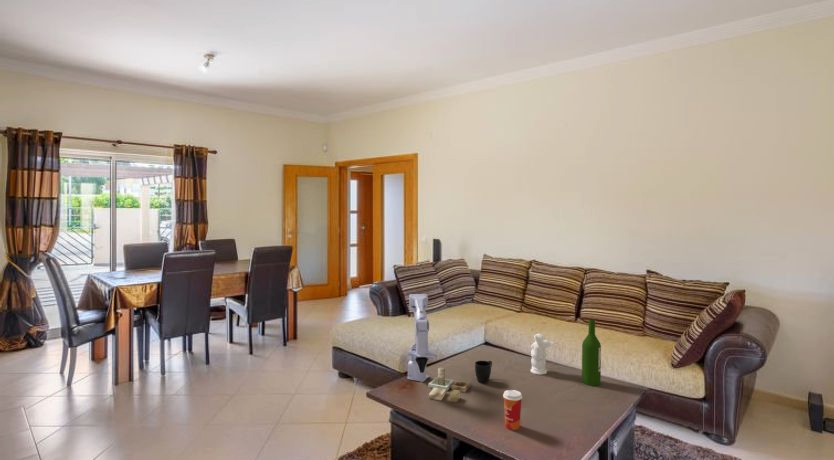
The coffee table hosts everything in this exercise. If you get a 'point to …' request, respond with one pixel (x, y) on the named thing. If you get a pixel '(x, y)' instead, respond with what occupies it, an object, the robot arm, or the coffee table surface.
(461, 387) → the socket block
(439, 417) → the coffee table surface
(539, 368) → the cherub figurine
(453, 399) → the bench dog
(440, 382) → the dowel
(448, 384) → the tray
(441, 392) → the beige rectangular box
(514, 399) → the paper cup
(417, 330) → the robot arm
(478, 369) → the mug
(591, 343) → the wine bottle
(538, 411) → the coffee table surface
